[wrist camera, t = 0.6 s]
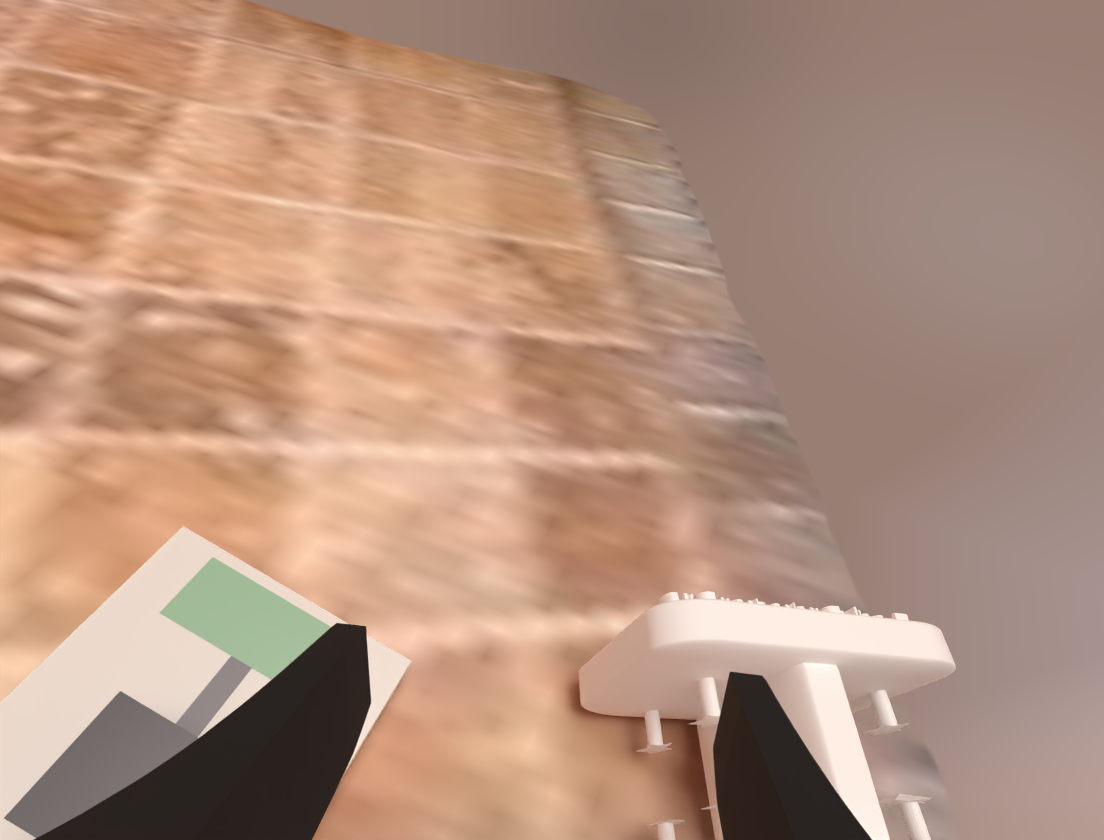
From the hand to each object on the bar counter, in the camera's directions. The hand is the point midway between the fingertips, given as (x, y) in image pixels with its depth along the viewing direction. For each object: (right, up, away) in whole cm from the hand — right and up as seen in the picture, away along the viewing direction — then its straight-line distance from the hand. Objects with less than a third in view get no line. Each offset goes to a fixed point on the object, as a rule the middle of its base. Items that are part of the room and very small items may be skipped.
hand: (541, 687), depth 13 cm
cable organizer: (+8, -13, +20) cm, 25 cm away
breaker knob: (-15, -8, +10) cm, 19 cm away
